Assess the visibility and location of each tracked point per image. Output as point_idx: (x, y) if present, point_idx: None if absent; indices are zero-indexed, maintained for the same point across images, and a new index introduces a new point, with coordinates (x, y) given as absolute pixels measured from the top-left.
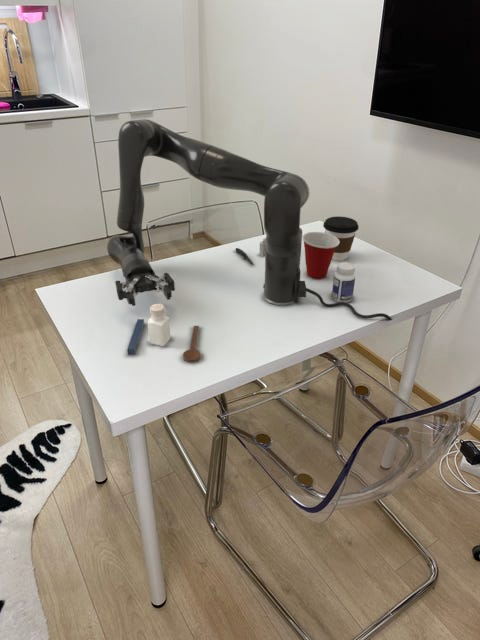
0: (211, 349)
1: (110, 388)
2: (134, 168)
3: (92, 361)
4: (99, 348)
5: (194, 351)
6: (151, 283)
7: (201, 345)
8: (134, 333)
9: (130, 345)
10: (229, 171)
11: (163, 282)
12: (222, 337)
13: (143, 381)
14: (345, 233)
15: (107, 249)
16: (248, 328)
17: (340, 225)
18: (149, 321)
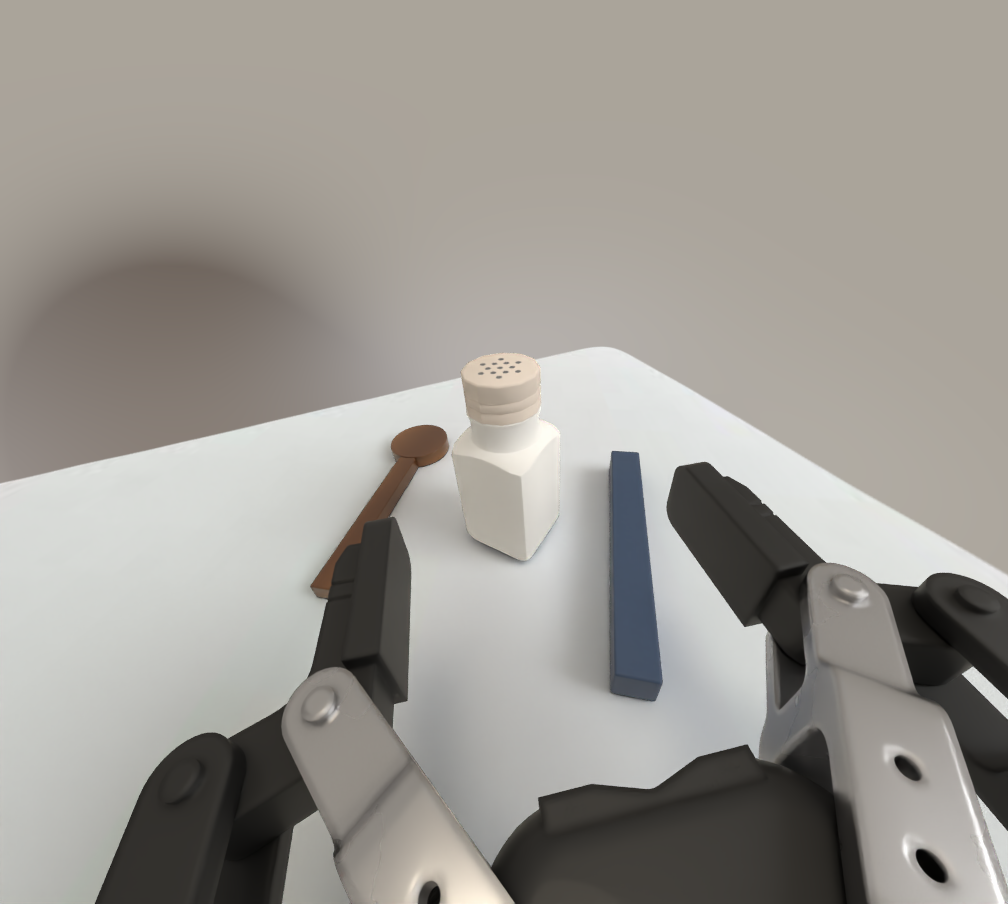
0: (346, 474)
1: (643, 385)
2: None
3: (755, 455)
4: (777, 512)
5: (406, 448)
6: (540, 807)
7: (367, 493)
8: (637, 533)
9: (632, 467)
10: None
11: (330, 770)
12: (265, 526)
13: (564, 396)
14: None
15: None
16: (116, 570)
17: None
18: (550, 428)
